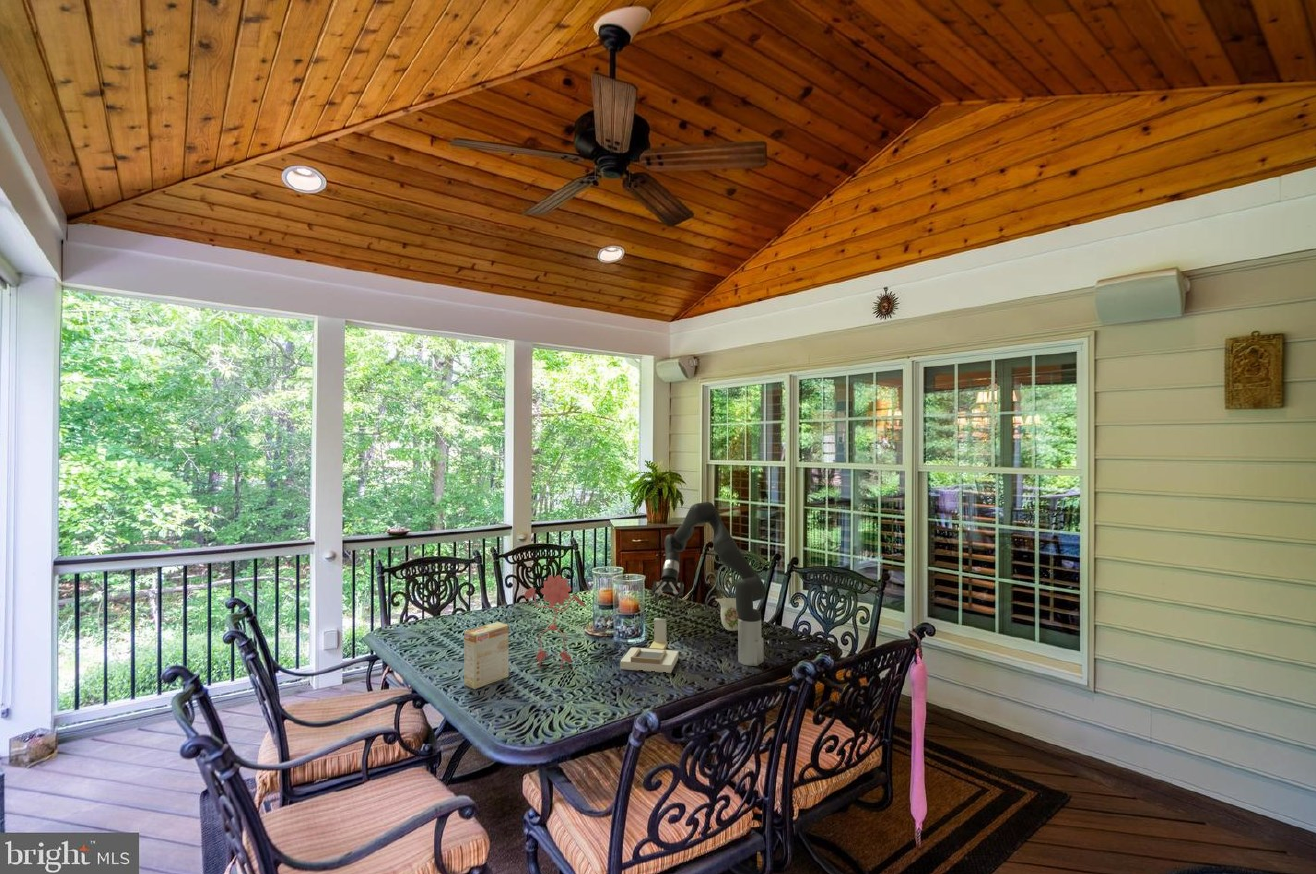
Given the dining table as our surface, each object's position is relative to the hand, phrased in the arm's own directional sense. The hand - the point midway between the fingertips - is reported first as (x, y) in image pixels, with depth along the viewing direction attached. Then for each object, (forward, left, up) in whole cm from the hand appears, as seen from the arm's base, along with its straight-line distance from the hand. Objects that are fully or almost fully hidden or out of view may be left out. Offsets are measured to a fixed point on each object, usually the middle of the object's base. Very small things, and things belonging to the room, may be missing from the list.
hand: (665, 602), depth 262 cm
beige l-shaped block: (-6, +14, -16) cm, 22 cm away
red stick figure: (+21, +48, -17) cm, 55 cm away
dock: (-11, +28, -16) cm, 34 cm away
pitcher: (-18, -31, -17) cm, 40 cm away
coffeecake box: (+29, +76, -17) cm, 83 cm away
